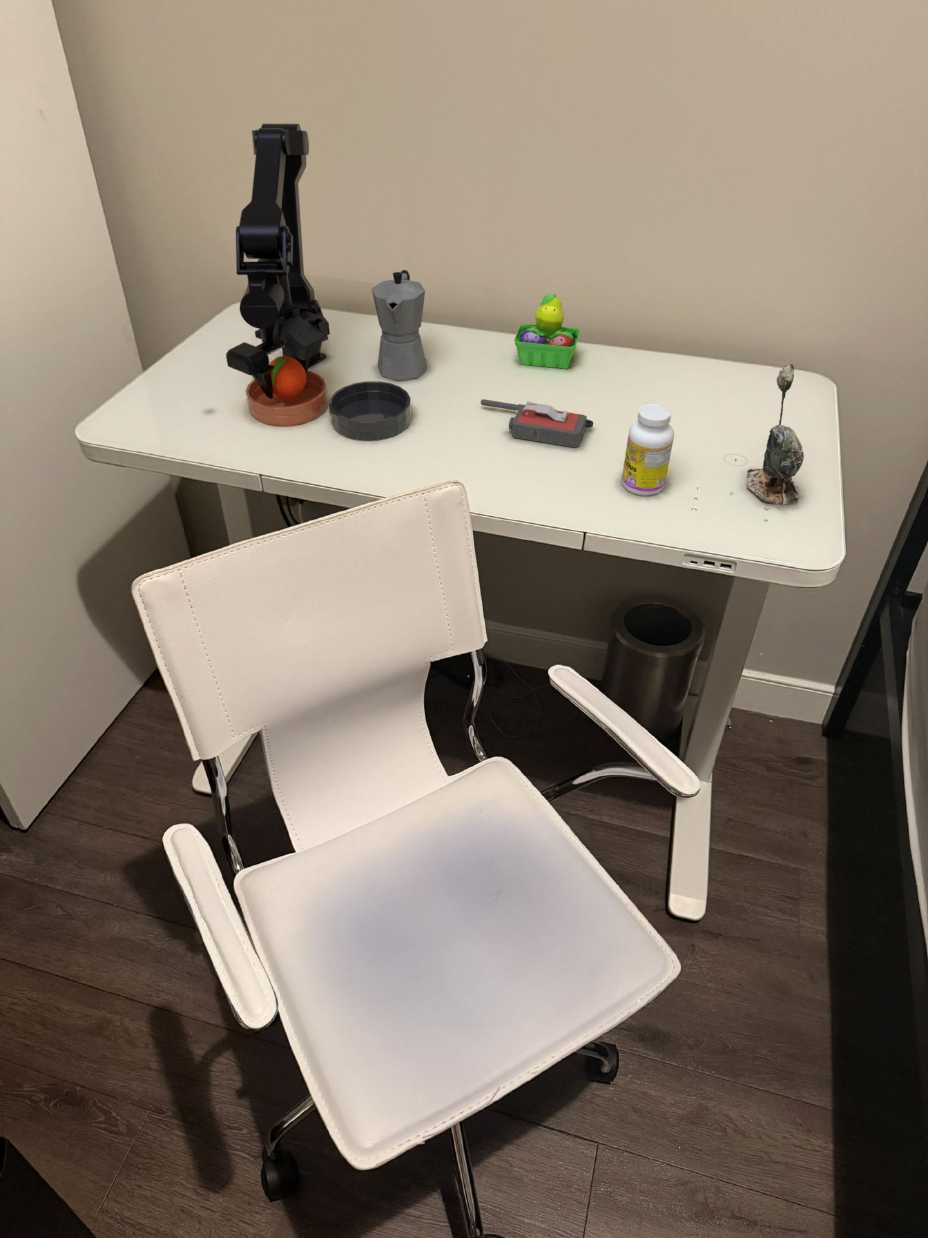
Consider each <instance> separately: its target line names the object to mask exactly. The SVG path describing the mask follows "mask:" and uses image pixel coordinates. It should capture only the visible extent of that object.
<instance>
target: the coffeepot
mask: <svg viewBox="0 0 928 1238" xmlns="http://www.w3.org/2000/svg"><path fill="white" fill-rule="evenodd" d="M392 277H393V279H388V280H382V281H380V282H379V283H378V284H376V285H375V286H373V287H372V288H371V294H372V298H373V303H374V307H375V312H376V316H377V321H378V325H379V327H380V329H381V335H380V340H379V349H378V357H377V358H378V359H377V369H378V371H379V373H380V375H381V376H382V377H383V378H386V379H388V380H392V381H399V382H401V381H403V382H404V381H410V380H411V381H412V380H414V379H417V378H419V377H421V376H423V375H424V374H425V373H426V371H427V370H428V365H427V359H426V356H425V351H424V348H423V346H424V345H423V341H422V337H421V335H420V328H421V327H422V321H423V313H424V304H425V296H426V295H425V294H426V289H425V288H424V287H423V285H422V284H421V282H418V281H414V280H411V276H410V273H409V271H408V270H407V269H403V270H401V271H394V272H393V273H392Z"/></svg>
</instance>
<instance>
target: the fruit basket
mask: <svg viewBox="0 0 928 1238" xmlns="http://www.w3.org/2000/svg"><path fill="white" fill-rule="evenodd" d="M562 307H563V304H562V301H561V299H559V298H558V297H557V294H549V293H548V294H545V295H544V296H543V298H542V301H541V302H540V303H539V307H538V308H536V310H535V313H534V318H535V324H530V323H525V324H524V323H523V324H521V325H519V327H518V329H517V332H516V334H515V337H514V345H515V347H516V351H517V355H518V360H519V363H520V365H522V366H523V365H525V366H535V367H546V368H555V369H556V368H558V369H564V370H568V369H569V366H570V364H571V360H572V358H573V354H574V351H575V350H576V348H577V345H578V342H579V341H578V340H579V337H580V334H581V330H580V329H579V328H574V327H567V326H565V327H564V326H563V323H564V317H565V316H564V312H563V308H562Z"/></svg>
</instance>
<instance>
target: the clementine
mask: <svg viewBox="0 0 928 1238" xmlns="http://www.w3.org/2000/svg"><path fill="white" fill-rule="evenodd" d="M269 365H272V366H274V369H273V370H272V371H271V380H272V387H273V393H274V394H275V395H276V396H279V397H282V398H292V397H295V396H297V395H298V394H300V393H301V391H302V390H303V389H304V387H305V384H306V373H305V370H304V368H303V366H302V364H301V363H300V362H298V361H297V360H296V359H294V358H292V357H288V356H283V355H281V356H278V357H276V358H274V359H272V360H271V361H269Z"/></svg>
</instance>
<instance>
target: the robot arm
mask: <svg viewBox="0 0 928 1238" xmlns="http://www.w3.org/2000/svg"><path fill="white" fill-rule="evenodd" d="M251 137H252V147H253V155H254V156H255V160H254V170H253V181H252V190H251V198H250V199H251V200H250V202H249V203H248V204H247V205H246V206H245V207H244V208H243V209H241V212H240V218H239V223H238V225H237V226H236V228H235V258H236V259H235V265H236V275H237V276H246V277H247V286H246V288H245V291H244V293H243V296H242V297H241V300H240V304H239V313H240V316H241V318H242V319H243V321H244V322H245V323H246V324H247V325H249V326H250V327H252V328H254V329H257V330H254V337H255V338H256V339H259V340H260V341H261V343H259V344H257V345H253V344H250V343H248V342H246V341H243V342H241V343H239V344H238V345H236V346H233V347H232V348H229V349H228V350H227V352H226V353H225V359H226V364H227V367H228V368H231V369H233V370H236V371H238V372H241V373H243V374H245V375H248V376H251V377H252V378H253V379H255V381H256V382H257V383H258V385H259V386H260V388H261V389H262V390H263V392H264V393H265V395H266V396H267V397H268V398H270V399H272V398H273V387H272V380H271V371H272V370H273V369H274V366H272V365H269V364H270V360H269V359H270V357H269V355H271V354H273V353H275V352H277V351H279V350H281V353H282V356H288V357H292V358H294V359H296V360H297V361H298V362H300V363H301V364H302V366H303V368H304V370H305V373H306V374H307V370H308V371H309V368H310V367H312V366H314V365H316V364H318V363H320V362H321V361H323V360H325V359H326V358H327V354H326V353H323V352H321V350H322V345H323V343H324V342H326V341H328V340H329V336H330V335H331V331H330V330H331V329H330V323H329V321H328V320H327V318H326V317H325V316H324V314H323V310H322V307H321V306H320V304H319V301H318V299H316V298H315V296H316V295H315V289H314V287H313V286H312V284H311V282H310V281H309V280H308V278H307V276H306V275H305V267H304V253H303V237H302V221H301V220H302V219H301V205H300V190H299V189H300V188H299V183H300V181H301V178H302V177H303V174H304V172H305V170H306V168H307V156H309V154H310V140H309V134H308V131H306V130H302V128H301V125H300V124H299V123H262V124H261V127H259V128H258V129H254V130H253V129H252V130H251ZM245 257H246V259H248V260H256V261H245Z"/></svg>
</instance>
